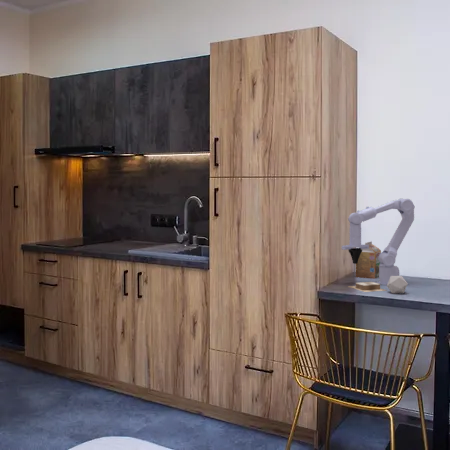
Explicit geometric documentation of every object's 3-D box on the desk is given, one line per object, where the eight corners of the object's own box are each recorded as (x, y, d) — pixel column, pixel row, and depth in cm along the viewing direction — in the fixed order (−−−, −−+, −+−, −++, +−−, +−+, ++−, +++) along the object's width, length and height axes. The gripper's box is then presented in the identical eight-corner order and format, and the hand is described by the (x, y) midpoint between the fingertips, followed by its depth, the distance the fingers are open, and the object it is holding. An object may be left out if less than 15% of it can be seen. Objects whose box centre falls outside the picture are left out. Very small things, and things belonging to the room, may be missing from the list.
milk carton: (374, 278, 289) (374, 243, 288) (355, 277, 295) (355, 242, 294) (380, 276, 298) (381, 241, 297) (362, 274, 304) (362, 241, 302)
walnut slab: (371, 281, 263) (380, 284, 257) (371, 286, 263) (380, 289, 257) (355, 282, 261) (363, 285, 254) (355, 287, 261) (363, 290, 254)
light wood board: (368, 285, 269) (368, 284, 269) (387, 290, 254) (387, 290, 254) (347, 286, 265) (347, 286, 265) (365, 292, 250) (365, 292, 250)
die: (404, 296, 242) (413, 278, 245) (386, 287, 244) (395, 269, 246) (398, 299, 250) (407, 282, 253) (381, 290, 251) (390, 273, 254)
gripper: (363, 235, 278) (363, 261, 279) (338, 236, 274) (338, 263, 274) (371, 236, 271) (371, 263, 272) (345, 237, 267) (345, 264, 268)
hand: (355, 263), depth 273 cm, fingers closed
